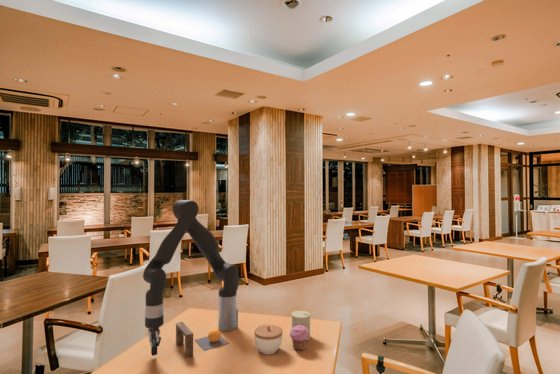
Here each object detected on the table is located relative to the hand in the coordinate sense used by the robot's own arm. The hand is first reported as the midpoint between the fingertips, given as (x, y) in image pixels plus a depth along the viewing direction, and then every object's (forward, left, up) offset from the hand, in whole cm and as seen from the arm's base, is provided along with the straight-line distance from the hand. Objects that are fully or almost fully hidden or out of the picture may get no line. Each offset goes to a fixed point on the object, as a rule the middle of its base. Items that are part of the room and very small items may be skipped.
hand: (154, 354), depth 139 cm
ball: (-27, +1, +2) cm, 27 cm away
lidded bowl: (-44, +22, -2) cm, 49 cm away
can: (-64, +20, -2) cm, 67 cm away
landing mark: (-26, 0, -2) cm, 26 cm away
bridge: (-13, 0, -2) cm, 13 cm away
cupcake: (-57, +28, -2) cm, 64 cm away
